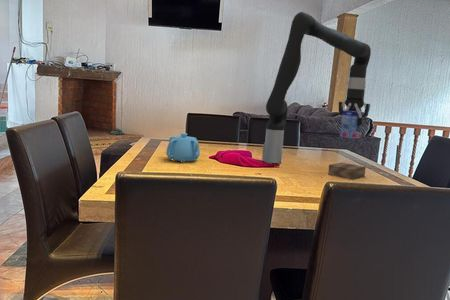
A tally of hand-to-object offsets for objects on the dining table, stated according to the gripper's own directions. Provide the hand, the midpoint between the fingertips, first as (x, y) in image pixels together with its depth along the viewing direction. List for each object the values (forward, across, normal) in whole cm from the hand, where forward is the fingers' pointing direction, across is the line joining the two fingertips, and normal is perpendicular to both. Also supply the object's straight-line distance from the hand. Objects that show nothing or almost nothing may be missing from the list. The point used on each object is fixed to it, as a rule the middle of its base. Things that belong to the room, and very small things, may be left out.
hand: (351, 125), depth 176 cm
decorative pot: (+24, -70, -35) cm, 82 cm away
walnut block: (+24, 0, 0) cm, 24 cm away
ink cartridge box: (+6, 0, 0) cm, 6 cm away
